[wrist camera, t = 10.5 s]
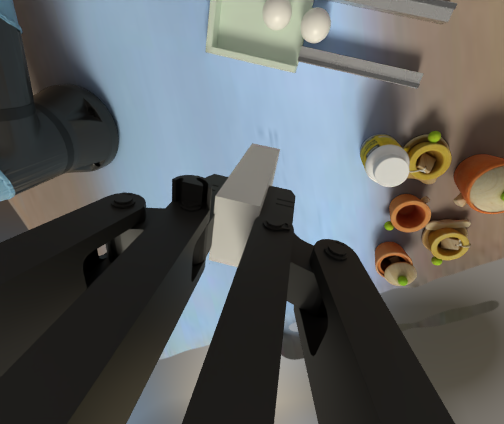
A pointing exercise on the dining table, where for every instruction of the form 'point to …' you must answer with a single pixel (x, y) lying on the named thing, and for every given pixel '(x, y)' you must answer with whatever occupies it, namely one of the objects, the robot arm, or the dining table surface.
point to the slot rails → (398, 3)
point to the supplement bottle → (385, 160)
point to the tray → (255, 33)
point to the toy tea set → (418, 213)
